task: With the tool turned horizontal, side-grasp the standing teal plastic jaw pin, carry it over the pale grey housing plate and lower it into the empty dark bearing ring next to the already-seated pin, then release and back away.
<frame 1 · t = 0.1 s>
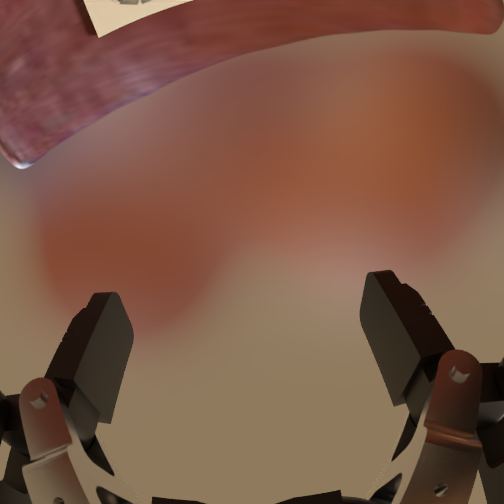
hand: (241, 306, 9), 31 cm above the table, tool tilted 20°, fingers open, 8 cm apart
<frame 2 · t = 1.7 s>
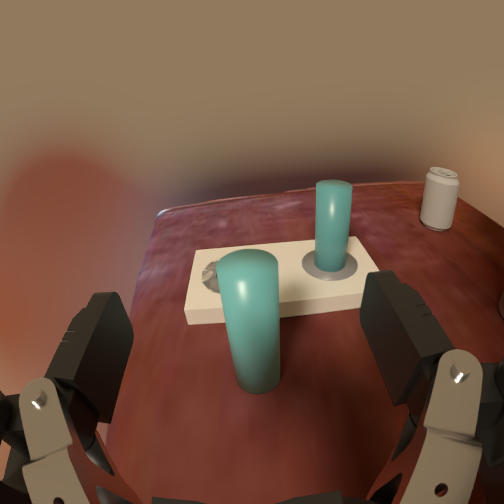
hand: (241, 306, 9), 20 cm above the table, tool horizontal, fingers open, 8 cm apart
seated pin: (328, 277, 42), resting on housing
can: (434, 225, 54), on the table
housing: (284, 282, 42), on the table
jaw pin: (258, 376, 29), on the table
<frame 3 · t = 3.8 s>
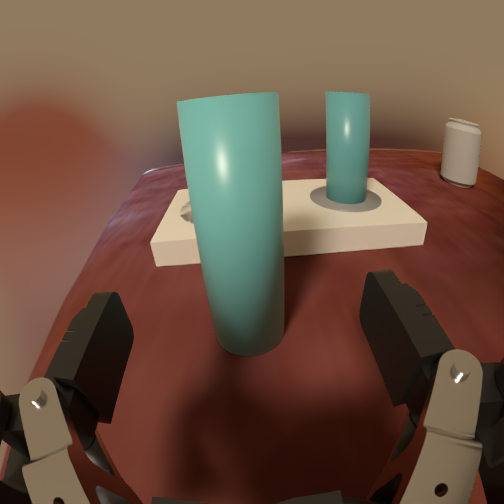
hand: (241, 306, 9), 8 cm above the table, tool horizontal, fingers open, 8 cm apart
seated pin: (344, 218, 32), resting on housing
can: (457, 183, 44), on the table
housing: (288, 221, 32), on the table
jaw pin: (249, 329, 19), on the table
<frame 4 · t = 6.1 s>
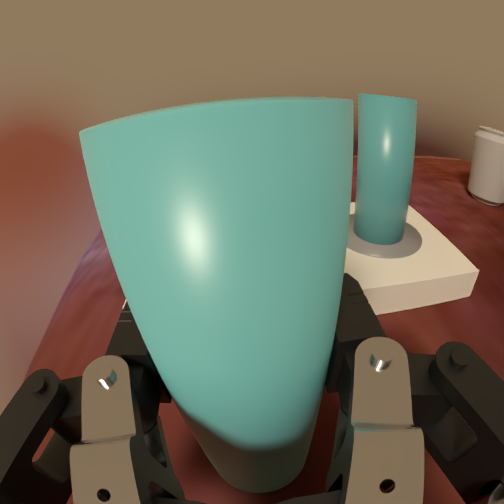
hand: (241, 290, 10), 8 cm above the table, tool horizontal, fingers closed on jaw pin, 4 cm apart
seated pin: (374, 258, 25), resting on housing
can: (485, 200, 37), on the table
housing: (304, 264, 25), on the table
jaw pin: (259, 452, 12), on the table, touching gripper
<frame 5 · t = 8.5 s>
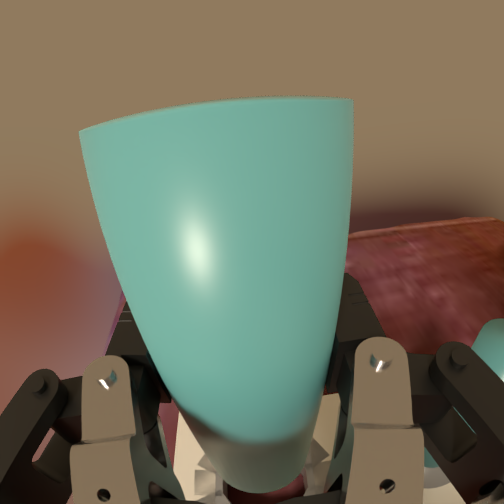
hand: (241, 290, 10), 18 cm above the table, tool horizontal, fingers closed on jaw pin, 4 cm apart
seated pin: (421, 454, 17), resting on housing
housing: (349, 475, 17), on the table
jaw pin: (259, 452, 12), point 10 cm above the table, touching gripper
when the fingers open (9 cm above the table, at t = 11.0 s): jaw pin stays where it is, resting in housing.
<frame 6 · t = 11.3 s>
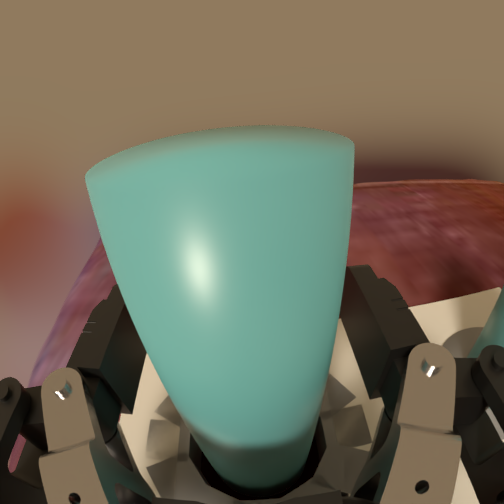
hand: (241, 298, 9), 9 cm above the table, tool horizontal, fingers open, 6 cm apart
seated pin: (474, 402, 12), resting on housing
housing: (383, 435, 12), on the table
jaw pin: (260, 458, 12), resting in housing
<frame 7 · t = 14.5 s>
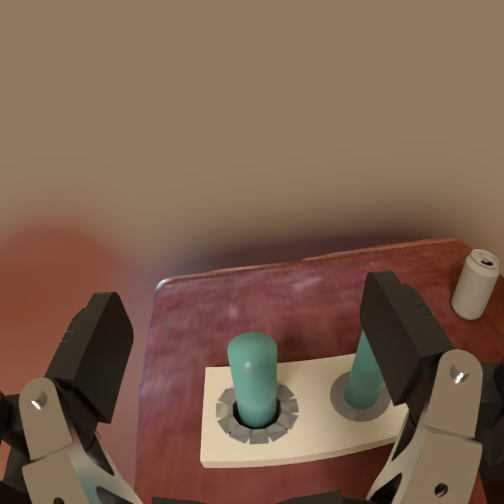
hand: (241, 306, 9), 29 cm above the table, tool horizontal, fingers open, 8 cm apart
seated pin: (356, 404, 33), resting on housing
can: (465, 310, 46), on the table
housing: (308, 412, 33), on the table
jaw pin: (258, 418, 33), resting in housing
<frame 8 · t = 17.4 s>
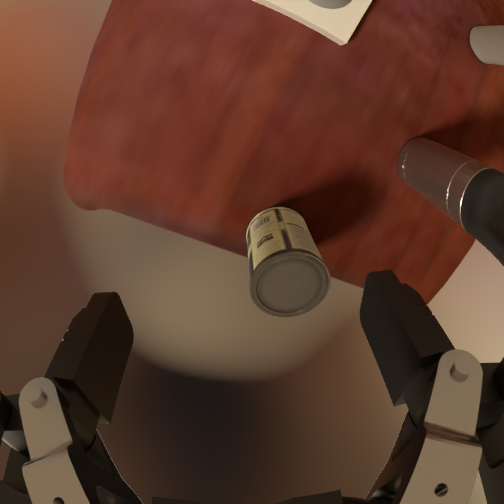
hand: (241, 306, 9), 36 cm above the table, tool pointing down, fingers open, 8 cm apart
can: (479, 44, 30), on the table
coffee can: (277, 234, 49), on the table
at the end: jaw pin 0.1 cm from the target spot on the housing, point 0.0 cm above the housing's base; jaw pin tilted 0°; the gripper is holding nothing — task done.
